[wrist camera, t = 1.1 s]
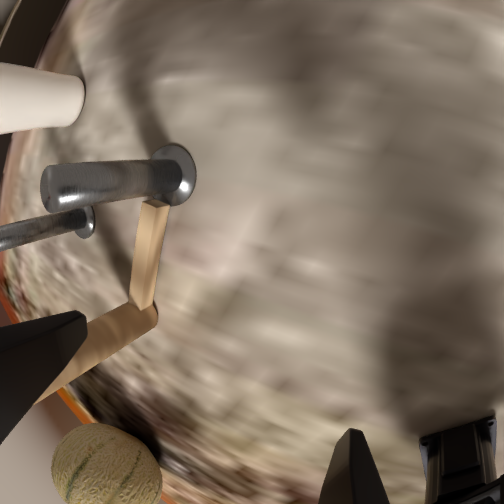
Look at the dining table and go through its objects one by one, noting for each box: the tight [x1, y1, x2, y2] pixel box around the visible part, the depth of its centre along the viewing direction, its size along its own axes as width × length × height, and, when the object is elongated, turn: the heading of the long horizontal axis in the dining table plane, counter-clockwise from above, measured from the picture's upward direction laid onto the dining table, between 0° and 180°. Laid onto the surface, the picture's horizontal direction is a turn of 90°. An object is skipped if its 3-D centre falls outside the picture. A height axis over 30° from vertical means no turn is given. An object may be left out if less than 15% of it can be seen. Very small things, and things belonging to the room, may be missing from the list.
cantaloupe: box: [51, 423, 162, 504], centre depth 28 cm, size 15×15×15 cm
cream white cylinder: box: [0, 62, 85, 134], centre depth 18 cm, size 7×7×15 cm
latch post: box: [0, 206, 95, 252], centre depth 21 cm, size 4×4×14 cm
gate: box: [33, 199, 170, 405], centre depth 15 cm, size 12×3×20 cm, turn 162°
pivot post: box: [40, 145, 196, 213], centre depth 17 cm, size 4×4×10 cm
